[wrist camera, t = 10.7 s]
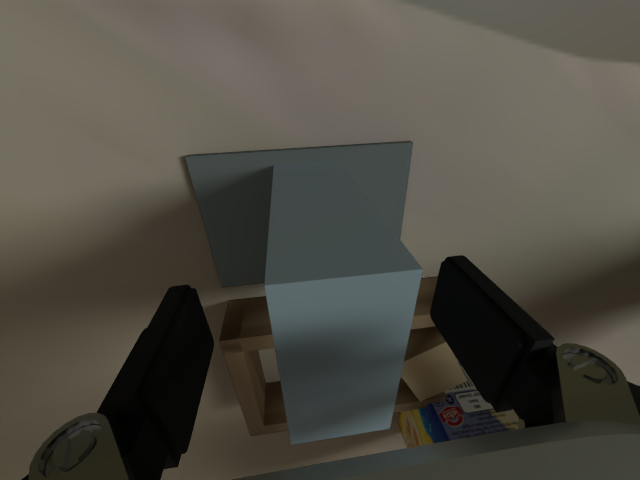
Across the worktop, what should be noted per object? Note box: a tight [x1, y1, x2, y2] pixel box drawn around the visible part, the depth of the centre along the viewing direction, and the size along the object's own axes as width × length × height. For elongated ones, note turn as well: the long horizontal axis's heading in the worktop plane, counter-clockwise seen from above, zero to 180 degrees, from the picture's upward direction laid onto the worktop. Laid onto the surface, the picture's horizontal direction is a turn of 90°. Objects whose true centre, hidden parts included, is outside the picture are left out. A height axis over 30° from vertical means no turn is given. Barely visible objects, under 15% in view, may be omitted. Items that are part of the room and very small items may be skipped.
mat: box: [185, 141, 413, 287], centre depth 16 cm, size 12×8×1 cm
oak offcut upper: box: [401, 326, 467, 401], centre depth 20 cm, size 4×6×2 cm
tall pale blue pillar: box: [264, 162, 423, 445], centre depth 12 cm, size 4×7×10 cm, turn 1°
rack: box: [219, 277, 447, 436], centre depth 21 cm, size 16×11×4 cm
